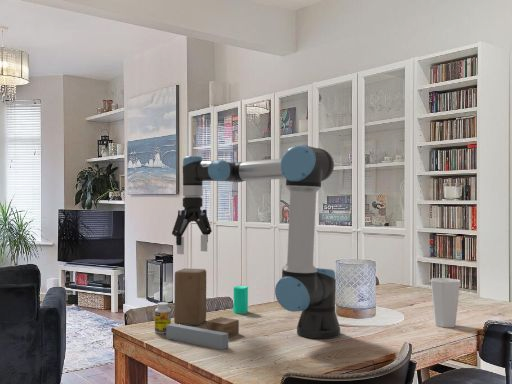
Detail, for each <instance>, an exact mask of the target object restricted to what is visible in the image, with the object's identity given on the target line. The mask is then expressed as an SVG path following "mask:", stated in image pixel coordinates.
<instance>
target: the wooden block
mask: <svg viewBox="0 0 512 384" xmlns="http://www.w3.org/2000/svg"><path fill="white" fill-rule="evenodd" d="M173 303H174V307H173V308H174V310H173V311H174V318H173V319H174V321H173V323H174V324H180V325H185V326H196V325H197V326H199V325H201V324H202V323H204V322H205V321H207V320H206V319H207V270H206V269H205V268H182V269H180V270H177V271H175V272H174V302H173Z"/></svg>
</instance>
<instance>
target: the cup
mask: <svg viewBox="0 0 512 384" xmlns="http://www.w3.org/2000/svg"><path fill="white" fill-rule="evenodd" d="M429 281H430V287H431V296H432V304H433V305H432V306H433V308H432V309H433V316H434V324H435V326H436V327H440V328H455V327H456V324H457V323H456V322H457V313H458V306H459V296H460V295H459V294H460V288H461V287H460V286H461V280H460V279H455V278H449V277H432V278H431V279H430V280H429Z"/></svg>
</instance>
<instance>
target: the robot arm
mask: <svg viewBox="0 0 512 384" xmlns="http://www.w3.org/2000/svg"><path fill="white" fill-rule="evenodd" d="M334 168H335V162H334V158H333V157H332V155H331V154H330V153H329V151H327V150H326V149H323V148H319V147H314V146H308V145H294V146H292V147H289V148H288V149H287V150H286V151H284V153H283V155H282V157H281V158H275V159H273V158H272V159H263V160H262V159H259V160H249V161H237V162H233V161H231V162H230V161H229V162H228V161H226V160H222V159H221V160H220V159H215V160H205V161H204V160H203V157H202V156H198V155H197V156H196V155H191V156H190V155H188V156H184V157H183V159H182V196H183V198H182V207H183V208H184V209H178V210H177V217H176V220H175V223H174V226H173V229H172V232H171V235H173V236H174V237H175V243H176V244H175V245H176V255H184V253H185V252H184V251H185V236H183V235H184V233H185V232H186V230H187V228H188V226H189V224H190V223H192V222H195V224H196V225H197V227H198V229H199V230H200V232H201V234H200V252H208V242H209V235H211V233H212V231H213V230H212V227H211V224H210V221H209V218H208V215H207V214H208V213H207V209H202V207H203V197H202V196H204V194H203V192H204V190H203V182H213V181H214V182H230V183H231V182H232V183H242V182H252V181H254V182H255V181H268V180H269V181H270V180H283V179H284V180H285V187H286V188H287V189H288V191H289V212H288V236H287V237H288V238H287V260H286V262H287V263H286V264H285V265H284V266H283V267H282V269H281V278H279V280H278V281H277V282H276V284H275V287H274V295H275V298H276V301H277V303H278V304H279V305H280V306H281V307H282V308H283V309H284V310H286V311H288V312H293V313H294V312H295V313H297V312H301V313H300V316H299V319H298V323H297V326H296V333H297V335H298V336H300V337H302V338H303V337H304V338H307V339H318V340H320V339H321V340H323V339H324V340H325V339H334V338H337V337H340V336H341V325H340V323H339V320H338V316H337V313H336V281H337V278H336V272H335V270H334V269H332V268H319V267H315V266H314V250H315V247H314V246H315V231H316V230H315V227H316V226H315V225H316V224H315V223H316V222H315V221H316V203H317V192H319V190H320V189H322V182H324V181H326V180H328V178H329V177H331V175H332V174H333V172H334Z"/></svg>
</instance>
